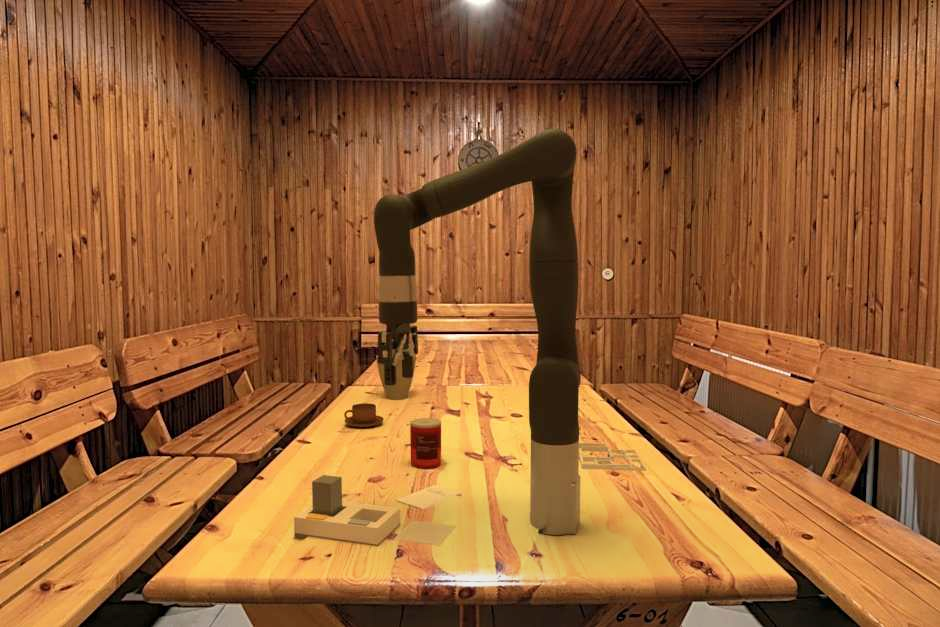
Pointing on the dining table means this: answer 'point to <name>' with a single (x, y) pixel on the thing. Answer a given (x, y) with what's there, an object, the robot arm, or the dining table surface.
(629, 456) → the floor plan model
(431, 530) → the mat
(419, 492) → the external hard drive
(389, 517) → the socket block
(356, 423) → the cup and saucer
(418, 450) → the canned food
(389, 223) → the robot arm
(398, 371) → the plant pot
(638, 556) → the dining table surface
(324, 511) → the plug
